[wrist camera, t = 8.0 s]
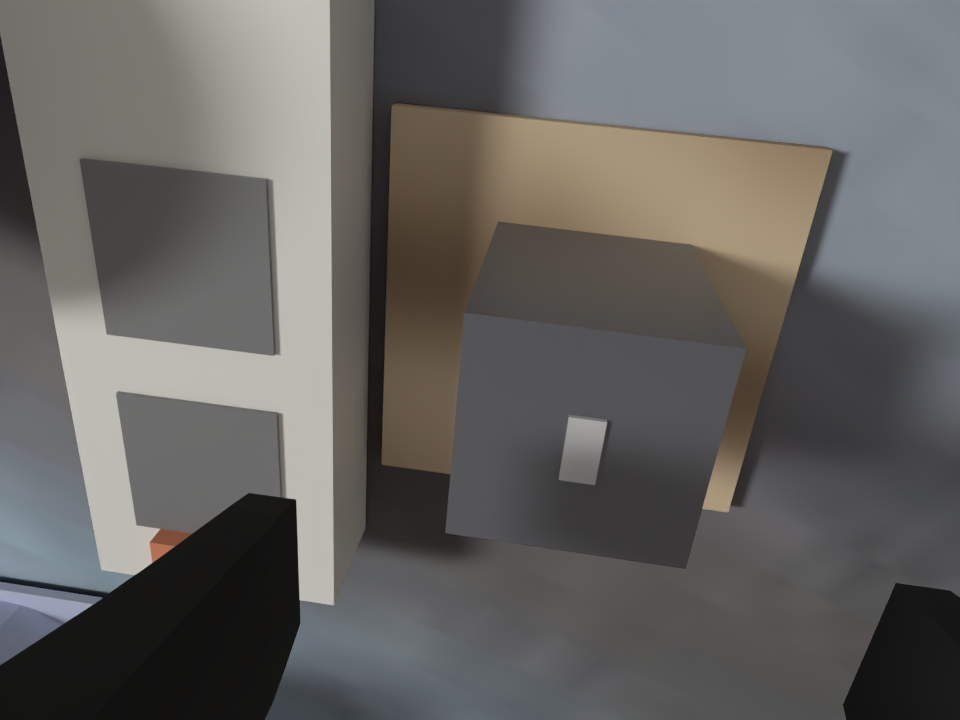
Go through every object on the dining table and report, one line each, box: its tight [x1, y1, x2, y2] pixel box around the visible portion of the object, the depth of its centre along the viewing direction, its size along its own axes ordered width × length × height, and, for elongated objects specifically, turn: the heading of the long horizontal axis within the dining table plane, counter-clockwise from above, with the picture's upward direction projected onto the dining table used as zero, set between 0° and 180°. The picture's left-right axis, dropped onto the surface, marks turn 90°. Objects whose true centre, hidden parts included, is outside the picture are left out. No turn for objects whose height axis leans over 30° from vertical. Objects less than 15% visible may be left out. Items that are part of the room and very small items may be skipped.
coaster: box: [381, 103, 833, 512], centre depth 17 cm, size 9×9×1 cm
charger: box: [445, 221, 746, 569], centre depth 14 cm, size 4×4×6 cm
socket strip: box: [0, 0, 375, 605], centre depth 15 cm, size 20×6×4 cm, turn 175°
